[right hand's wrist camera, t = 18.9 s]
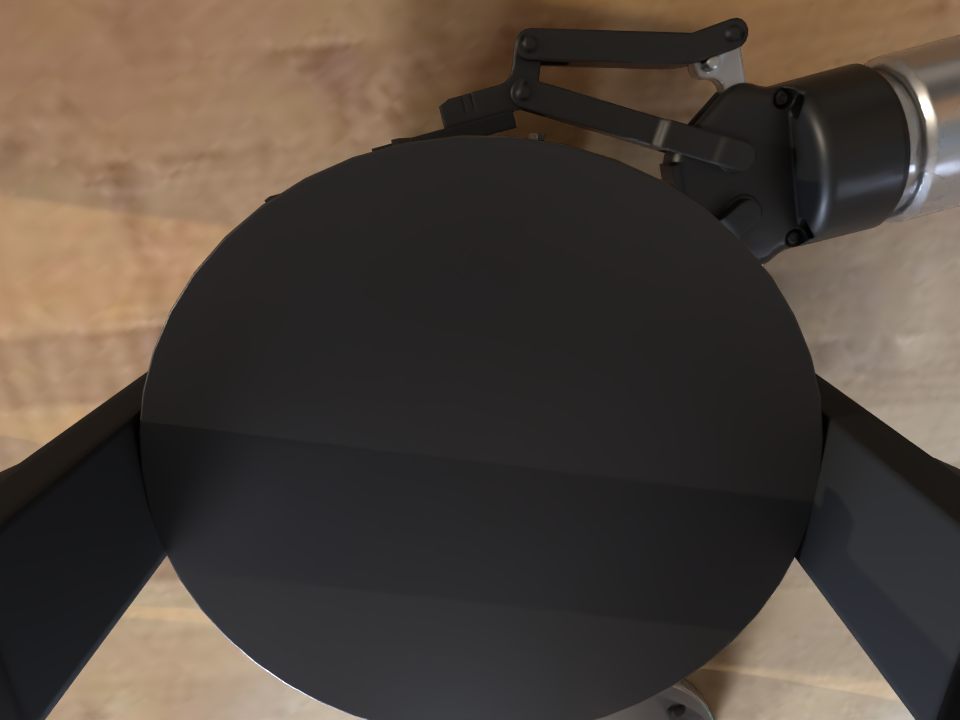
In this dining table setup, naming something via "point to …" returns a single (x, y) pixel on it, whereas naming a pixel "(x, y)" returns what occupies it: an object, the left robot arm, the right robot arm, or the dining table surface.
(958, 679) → the right robot arm
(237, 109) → the dining table surface
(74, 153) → the dining table surface
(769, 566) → the lid
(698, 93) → the dining table surface
